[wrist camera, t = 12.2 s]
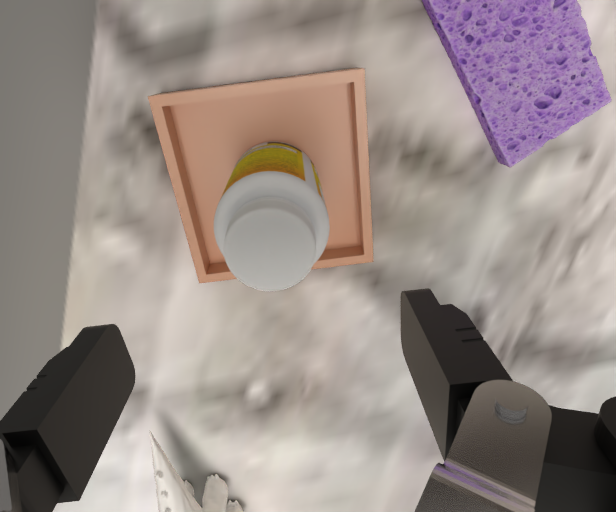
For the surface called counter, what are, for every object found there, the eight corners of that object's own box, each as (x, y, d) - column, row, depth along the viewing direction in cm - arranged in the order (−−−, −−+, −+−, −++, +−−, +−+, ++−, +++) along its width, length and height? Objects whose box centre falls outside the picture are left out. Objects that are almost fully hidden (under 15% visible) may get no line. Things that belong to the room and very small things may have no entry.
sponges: (495, 162, 28) (509, 169, 26) (408, -16, 23) (418, -22, 21) (593, 99, 26) (615, 101, 24) (522, -107, 21) (543, -121, 20)
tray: (357, 67, 24) (364, 68, 22) (366, 246, 29) (373, 261, 27) (160, 93, 24) (147, 96, 22) (206, 266, 29) (199, 283, 27)
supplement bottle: (214, 177, 26) (174, 246, 16) (280, 120, 24) (275, 159, 15) (272, 238, 28) (265, 328, 19) (335, 188, 26) (361, 259, 17)
